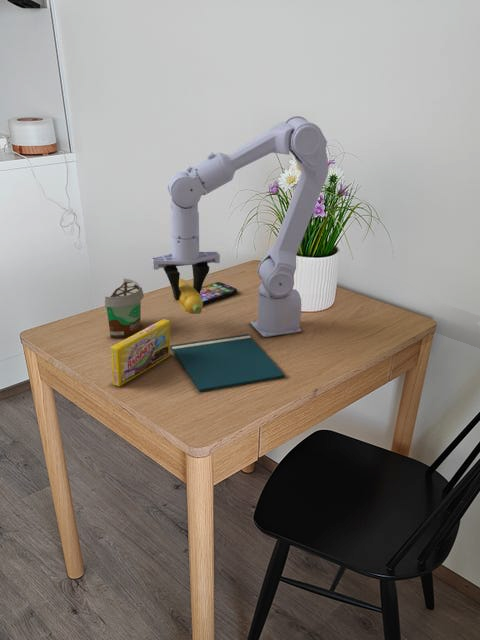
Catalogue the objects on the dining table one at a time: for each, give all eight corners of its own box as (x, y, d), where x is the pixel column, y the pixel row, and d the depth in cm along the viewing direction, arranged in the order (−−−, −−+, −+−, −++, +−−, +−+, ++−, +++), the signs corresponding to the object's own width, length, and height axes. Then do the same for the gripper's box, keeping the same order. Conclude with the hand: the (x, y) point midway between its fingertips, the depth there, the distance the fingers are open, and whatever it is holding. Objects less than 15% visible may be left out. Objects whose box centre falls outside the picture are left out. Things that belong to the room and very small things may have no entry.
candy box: (120, 388, 121) (117, 349, 117) (112, 385, 122) (108, 346, 118) (171, 356, 133) (170, 320, 128) (163, 353, 134) (162, 317, 129)
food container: (135, 343, 138) (131, 300, 132) (108, 340, 138) (104, 297, 133) (152, 321, 148) (150, 280, 142) (127, 318, 149) (124, 277, 143)
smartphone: (239, 289, 163) (195, 304, 154) (239, 293, 163) (195, 308, 154) (218, 281, 167) (174, 295, 158) (218, 284, 168) (174, 298, 159)
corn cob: (186, 291, 145) (185, 275, 143) (207, 318, 133) (207, 300, 131) (169, 293, 144) (168, 276, 141) (189, 320, 132) (188, 302, 130)
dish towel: (247, 336, 142) (247, 333, 142) (284, 377, 127) (285, 374, 126) (170, 347, 136) (170, 344, 136) (199, 392, 121) (199, 389, 121)
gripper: (212, 226, 136) (212, 287, 143) (146, 232, 131) (149, 294, 139) (223, 236, 130) (222, 298, 138) (154, 242, 126) (158, 306, 133)
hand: (186, 297), depth 138 cm, fingers closed on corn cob, 4 cm apart
